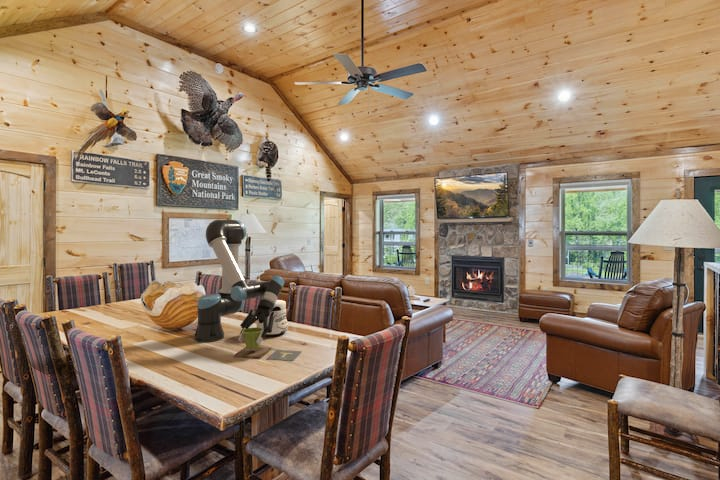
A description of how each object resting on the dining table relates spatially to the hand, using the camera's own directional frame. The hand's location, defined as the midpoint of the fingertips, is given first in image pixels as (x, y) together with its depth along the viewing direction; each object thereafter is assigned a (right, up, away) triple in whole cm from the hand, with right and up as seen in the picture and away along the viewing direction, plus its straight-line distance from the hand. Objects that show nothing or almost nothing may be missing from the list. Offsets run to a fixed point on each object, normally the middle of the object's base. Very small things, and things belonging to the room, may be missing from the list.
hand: (249, 342), depth 181 cm
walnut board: (+1, -6, +3) cm, 7 cm away
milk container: (+2, -5, +37) cm, 38 cm away
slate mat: (+17, -6, +1) cm, 18 cm away
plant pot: (+1, -4, +3) cm, 5 cm away
